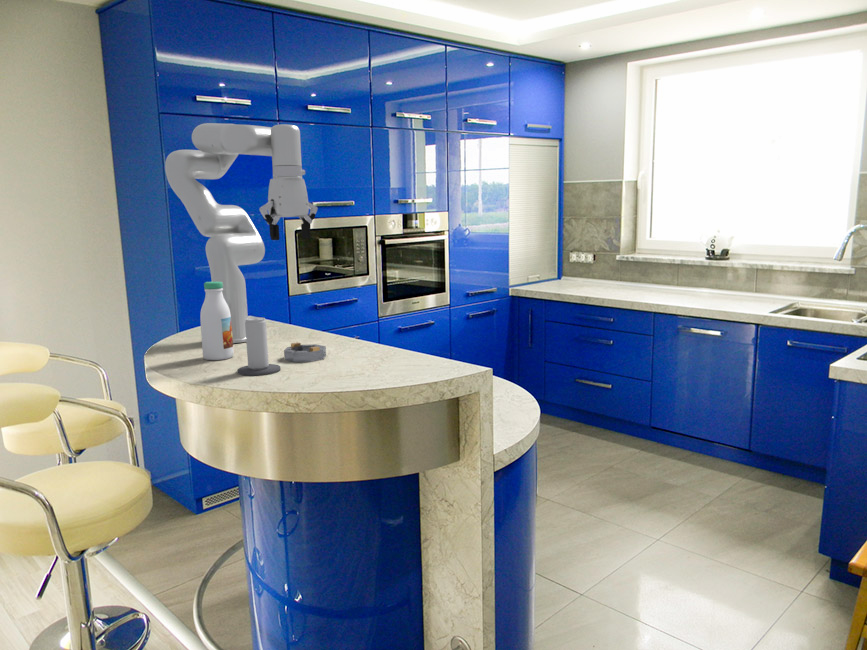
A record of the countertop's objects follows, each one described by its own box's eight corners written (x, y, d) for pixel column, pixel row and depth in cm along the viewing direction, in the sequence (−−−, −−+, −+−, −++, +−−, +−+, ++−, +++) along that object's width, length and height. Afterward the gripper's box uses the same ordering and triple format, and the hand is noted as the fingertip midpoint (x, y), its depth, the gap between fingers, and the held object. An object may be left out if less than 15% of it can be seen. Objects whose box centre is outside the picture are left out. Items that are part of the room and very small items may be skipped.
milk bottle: (214, 362, 175) (209, 284, 171) (197, 358, 179) (191, 282, 176) (239, 356, 181) (234, 281, 177) (222, 353, 185) (216, 280, 182)
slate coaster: (229, 371, 164) (229, 368, 164) (266, 364, 171) (266, 361, 171) (251, 377, 157) (251, 375, 157) (288, 370, 164) (288, 367, 164)
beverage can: (249, 371, 161) (245, 321, 159) (247, 367, 165) (244, 318, 164) (269, 369, 163) (266, 319, 161) (267, 365, 167) (264, 316, 165)
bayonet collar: (278, 358, 178) (277, 345, 177) (310, 352, 185) (309, 340, 184) (300, 363, 171) (299, 350, 170) (332, 357, 178) (332, 344, 177)
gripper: (306, 175, 188) (309, 237, 191) (250, 173, 176) (254, 240, 179) (322, 173, 183) (325, 238, 186) (266, 172, 171) (270, 240, 174)
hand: (290, 239), depth 183 cm, fingers open, 9 cm apart
